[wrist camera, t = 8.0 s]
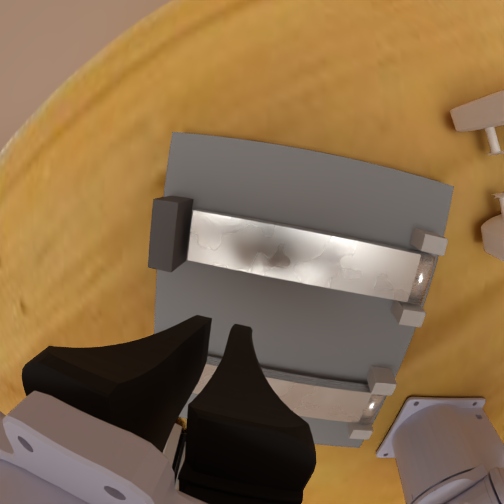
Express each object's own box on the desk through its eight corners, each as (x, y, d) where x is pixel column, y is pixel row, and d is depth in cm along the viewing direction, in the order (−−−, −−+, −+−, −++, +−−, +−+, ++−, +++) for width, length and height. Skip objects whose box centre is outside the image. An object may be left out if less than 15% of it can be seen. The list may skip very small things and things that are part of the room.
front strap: (430, 253, 18) (439, 259, 16) (417, 297, 18) (424, 306, 17) (199, 208, 19) (191, 210, 18) (193, 255, 20) (186, 260, 19)
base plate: (441, 184, 19) (473, 189, 14) (356, 432, 24) (362, 469, 20) (183, 135, 20) (155, 127, 16) (162, 395, 26) (143, 428, 22)
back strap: (384, 384, 20) (388, 396, 19) (370, 413, 21) (372, 425, 20) (185, 348, 22) (178, 358, 20) (183, 379, 23) (177, 390, 21)
